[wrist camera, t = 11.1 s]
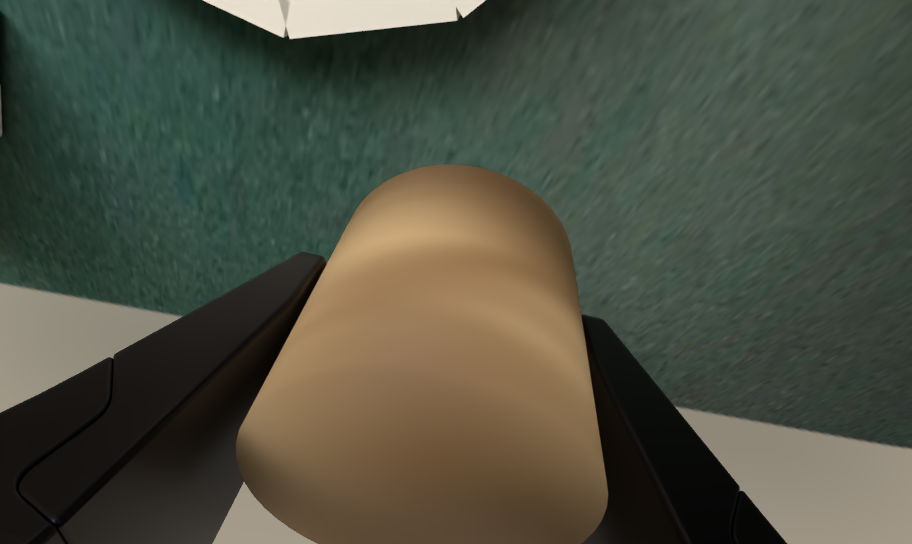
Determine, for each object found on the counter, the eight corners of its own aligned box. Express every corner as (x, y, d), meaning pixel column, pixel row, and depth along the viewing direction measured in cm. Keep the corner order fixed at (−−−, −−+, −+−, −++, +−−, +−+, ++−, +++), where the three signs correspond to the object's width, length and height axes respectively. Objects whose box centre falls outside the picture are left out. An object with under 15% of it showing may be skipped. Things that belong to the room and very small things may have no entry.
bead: (610, 198, 8) (681, 424, 5) (532, 370, 11) (540, 597, 7) (352, 137, 8) (220, 324, 4) (337, 326, 11) (246, 539, 7)
